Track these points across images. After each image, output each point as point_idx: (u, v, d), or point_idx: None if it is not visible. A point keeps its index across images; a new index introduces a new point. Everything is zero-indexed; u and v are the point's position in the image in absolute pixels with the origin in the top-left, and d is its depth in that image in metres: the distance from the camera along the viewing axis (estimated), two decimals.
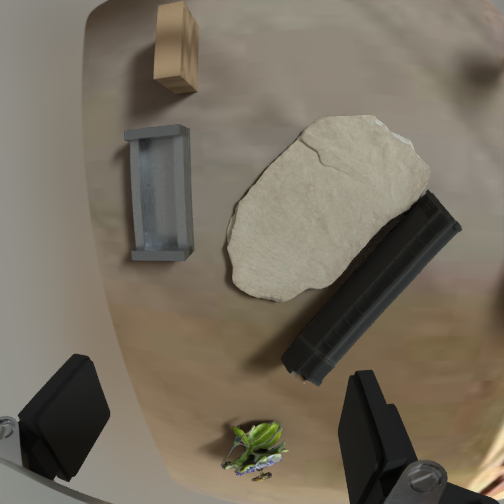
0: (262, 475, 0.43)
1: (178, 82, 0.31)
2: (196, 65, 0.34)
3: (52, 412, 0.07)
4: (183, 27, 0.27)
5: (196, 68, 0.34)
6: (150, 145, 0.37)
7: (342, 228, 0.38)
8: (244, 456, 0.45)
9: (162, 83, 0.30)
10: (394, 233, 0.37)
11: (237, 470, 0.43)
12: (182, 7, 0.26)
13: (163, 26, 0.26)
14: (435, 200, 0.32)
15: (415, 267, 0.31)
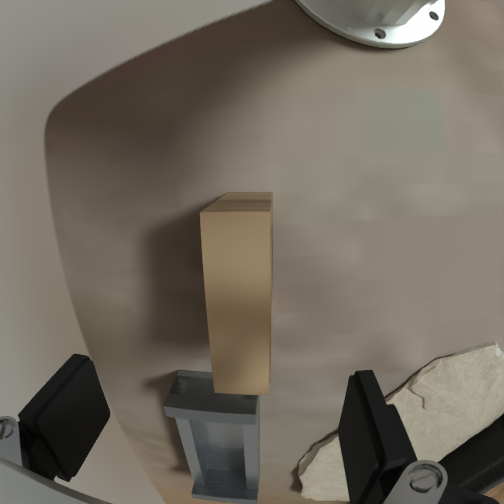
0: None
1: None
2: None
3: (52, 412, 0.07)
4: (271, 287, 0.15)
5: None
6: None
7: (423, 454, 0.26)
8: None
9: None
10: (469, 443, 0.25)
11: None
12: (268, 233, 0.13)
13: (222, 284, 0.14)
14: None
15: None
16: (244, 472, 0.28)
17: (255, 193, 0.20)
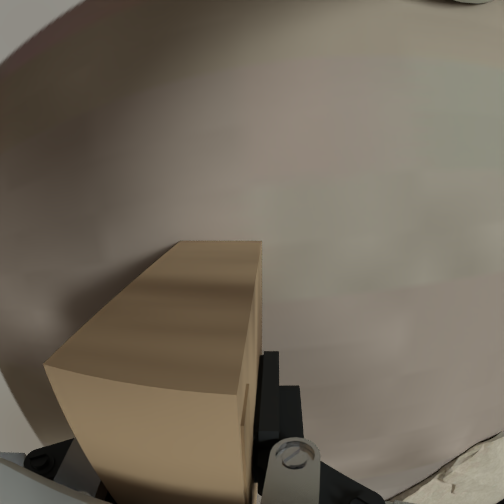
0: None
1: None
2: None
3: None
4: (248, 497, 0.05)
5: None
6: None
7: None
8: None
9: None
10: None
11: None
12: (233, 439, 0.04)
13: (138, 493, 0.05)
14: None
15: None
16: None
17: (228, 247, 0.10)
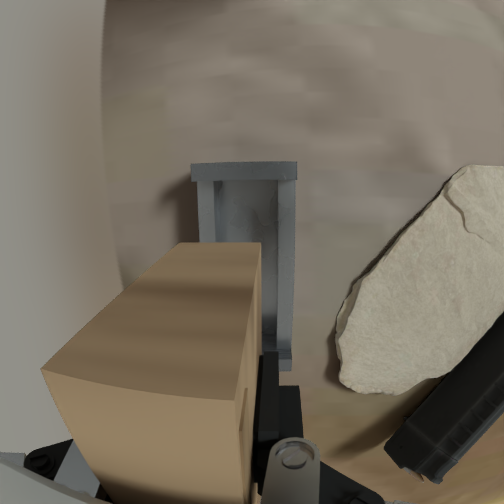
0: None
1: None
2: None
3: None
4: (247, 500, 0.05)
5: None
6: (227, 186, 0.24)
7: (474, 310, 0.25)
8: None
9: None
10: None
11: None
12: (231, 444, 0.04)
13: (137, 497, 0.04)
14: None
15: None
16: (271, 334, 0.27)
17: (227, 248, 0.10)
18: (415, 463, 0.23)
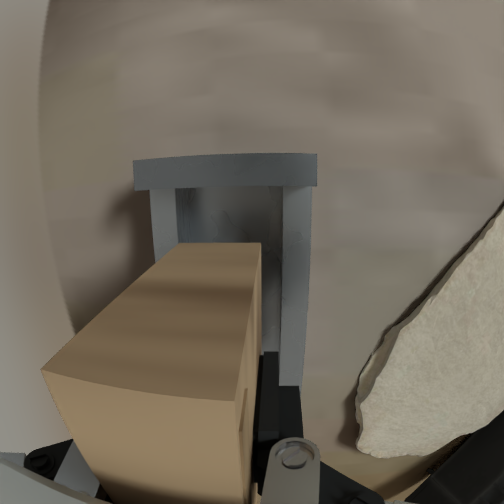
0: None
1: None
2: None
3: None
4: (247, 501, 0.05)
5: None
6: (202, 194, 0.15)
7: None
8: None
9: None
10: None
11: None
12: (231, 445, 0.04)
13: (137, 497, 0.04)
14: None
15: None
16: None
17: (227, 249, 0.10)
18: None
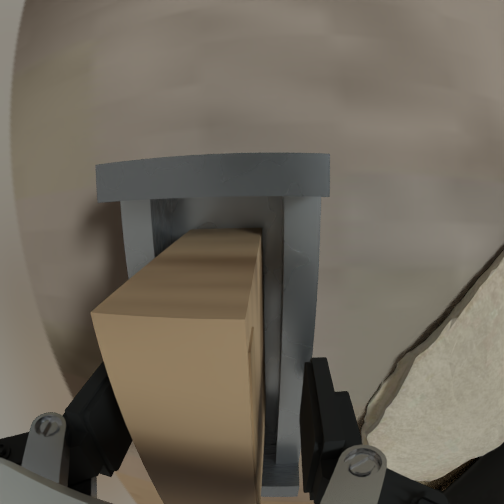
0: None
1: None
2: (264, 368, 0.14)
3: (100, 405, 0.08)
4: (255, 438, 0.07)
5: (264, 375, 0.14)
6: (186, 203, 0.13)
7: None
8: None
9: None
10: None
11: None
12: (242, 364, 0.05)
13: (160, 436, 0.06)
14: None
15: None
16: (268, 434, 0.16)
17: (233, 232, 0.12)
18: None
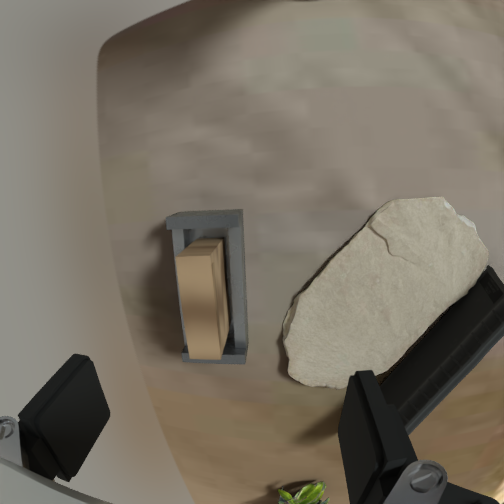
0: None
1: None
2: (227, 296, 0.34)
3: (52, 412, 0.07)
4: (215, 295, 0.27)
5: (228, 300, 0.34)
6: (195, 228, 0.33)
7: (404, 319, 0.33)
8: None
9: None
10: (455, 311, 0.33)
11: None
12: (210, 266, 0.26)
13: (189, 293, 0.26)
14: (499, 282, 0.28)
15: (480, 354, 0.26)
16: (233, 337, 0.36)
17: (212, 239, 0.33)
18: None
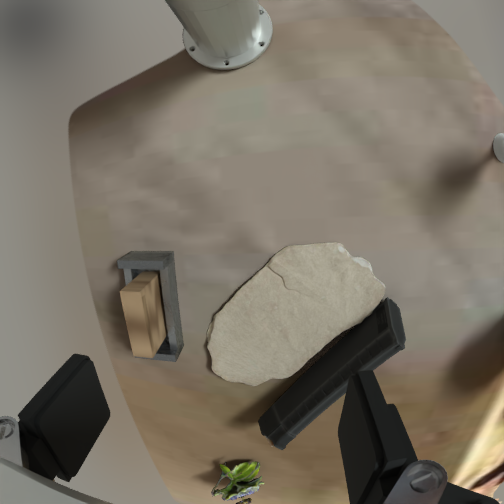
0: (244, 501, 0.51)
1: None
2: (164, 312, 0.46)
3: (52, 412, 0.07)
4: (146, 316, 0.39)
5: None
6: None
7: (301, 338, 0.45)
8: (229, 486, 0.52)
9: None
10: (352, 334, 0.45)
11: (223, 497, 0.51)
12: (140, 298, 0.37)
13: (129, 314, 0.38)
14: (388, 315, 0.40)
15: None
16: None
17: (152, 273, 0.44)
18: (268, 432, 0.44)
